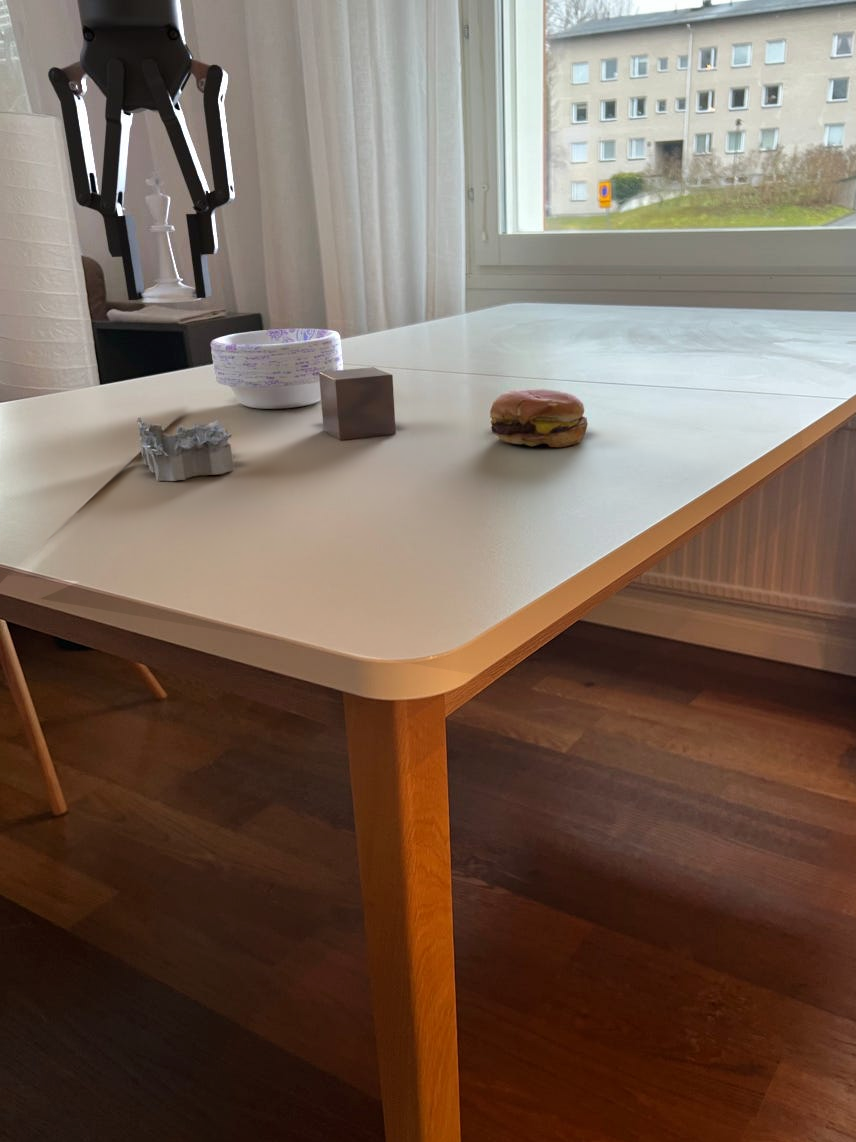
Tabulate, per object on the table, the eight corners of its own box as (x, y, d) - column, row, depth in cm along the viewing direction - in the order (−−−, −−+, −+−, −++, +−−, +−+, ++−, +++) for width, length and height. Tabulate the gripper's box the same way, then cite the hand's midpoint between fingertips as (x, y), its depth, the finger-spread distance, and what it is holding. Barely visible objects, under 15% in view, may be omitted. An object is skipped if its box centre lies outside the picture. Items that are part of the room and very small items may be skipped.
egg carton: (140, 460, 94) (132, 417, 92) (220, 452, 97) (214, 409, 95) (152, 485, 85) (144, 437, 83) (240, 475, 88) (234, 428, 86)
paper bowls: (194, 412, 116) (184, 342, 112) (255, 390, 129) (248, 327, 126) (314, 416, 112) (307, 343, 109) (364, 393, 125) (359, 328, 122)
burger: (540, 425, 104) (540, 380, 103) (605, 439, 98) (607, 391, 96) (468, 440, 99) (467, 393, 97) (532, 456, 92) (532, 405, 90)
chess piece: (213, 298, 86) (197, 170, 82) (175, 303, 81) (156, 168, 77) (168, 297, 87) (150, 172, 83) (128, 302, 83) (108, 171, 79)
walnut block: (340, 440, 100) (335, 379, 98) (323, 429, 105) (318, 371, 103) (396, 434, 102) (392, 374, 100) (377, 424, 107) (373, 367, 105)
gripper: (252, -18, 79) (282, 291, 88) (21, -15, 78) (76, 297, 87) (237, -40, 72) (271, 298, 81) (-16, -37, 71) (48, 304, 80)
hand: (170, 297), depth 84 cm, fingers closed on chess piece, 5 cm apart
